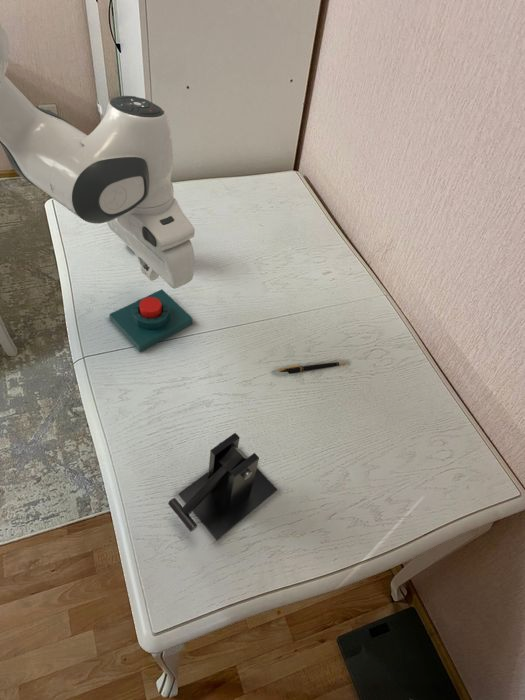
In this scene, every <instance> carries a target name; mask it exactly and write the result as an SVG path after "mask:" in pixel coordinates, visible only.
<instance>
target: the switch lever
mask: <svg viewBox="0 0 525 700" xmlns="http://www.w3.org/2000/svg"><path fill="white" fill-rule="evenodd" d="M239 449H240V448H239V447H238V448H236V447H232V448H231V449H230V450H229V451H228V452H227V453H226V454H225V455H224V456H223V457H222V458H221V459H220V461H219V462H220V463H221V464H222V466H221V467H220V469H219V470H218V471H217V472H216V473H215V474H214V475H213V476H212V477H211V478H210V479H209V480H208V481H207V482H206V483H205V484H204V485H203V487H202V488H201V489H200V490H199V491H198V492H197V493H196V494H195V495H194V496H193V497H192V498H191V499H190V500H189V501H188V502H187V503H185V505H184V506H183V505H182V504H181V503H180V502H179V501H178V500H177V498H176V497H173V498H171V499H170V500H169V501H168V503H167V504H168V506H169V507H170V508H171V510H172V511H173V512H174V513H175V514H176V516H177V517H178V518H179V519H180V521H181V522H182V523H183V525H184V526H185V527H186V528H187V529H188V531H189V532H190V533H192V532H194V531H195V530H196V529H197V528H198V524H197V523H196V522H195V521H194V519H193V518H192V517H191V514H192V513H193V510H194V509H195V508H196V507H197V506H198V505H199V504H200V503H201V502H202V501H203V500H204V499H205V497H206V496H207V495H208V494H209V493H210V492H211V491H212V490H213V489H214V488H215V487H216V486H217V485H218V484H219V483H220V482H221V481H222V479H223V478H224V477H225V476H226V475H227V474H228V473H230V471H231V470H233V469H234V468H235V467H236V466H238V465H239V464H240V463H242V462H243V461H244V460H246V459H247V458H248V457H247V455H246V454H243V453H244V452H243V451H242V450H241V449H240V450H241V451H242V452H243V453H242V452H241V451H240V450H239Z"/></svg>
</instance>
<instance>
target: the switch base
mask: <svg viewBox="0 0 525 700" xmlns="http://www.w3.org/2000/svg"><path fill="white" fill-rule="evenodd" d="M240 439H241V438H240V436H239V435H238V434H237V433H236V432H234V433H232V434H231V435H230V436H228V437H227V438H225V439H223V440H222V441H220V442H219V443H218V444H217V445H216V446H214V447H213V448H211V449H210V452H209V463H208V471H207V472H205V473H204V474H203V475H202V476H200V477H199V478H197V479H196V480H195V481H194V482H192V483H191V484H189V485H188V486H186V487H185V488H184V489H183V490H182V491H180V492H179V493H178V496H179V497H180V499H182V501H183V502H184V503H185V504H186V503H187V502H188V501H189V500H190V499H191V498H192V497H193V496H194V495H195V494H196V493H197V492H198V491H199V490H200V489H201V488H202V487H203V485H204V484H205V483H206V482H207V481H208V480H209V479H210V478H211V477H212V476H213V475H214V474H215V473H216V472H217V471H218V470H219V469H220V467H221V466H222V464H221V463H220V462H219V461H220V459H221V458H222V457H223V456H224V455H225V454H226V453H227V452H228V451H229V450H230V449H231V448H232V447H236V448H238V449H239V450H240V451H241V452H242V453H243V454H244V452H243V451H242V450H241V449H240V448H239V444H240ZM244 455H245V454H244ZM259 462H260V457H259V456H258V455H257V454H256V453H255V452H253V453H252V454H250V455H249V456H248V457H247V459H246V460H244V461H243V462H242V463H240V464H239V465H238V466H236V467H235V468H234V469H233V470H231V471H230V473H228V474H227V475H226V476H225V477H224V478H223V479H222V481H221V482H220V483H219V484H218V485H217V486H216V487H215V488H214V489H213V490H212V491H211V492H210V493H209V494H208V495H207V496H206V497H205V499H204V500H203V501H202V502H201V503H200V504H199V505H198V506H197V507H196V508H195V509H194V510H193V511H192V513H193V514H194V516H196V518H197V519H198V520H199V521H200V523H202V525H203V526H204V527H205V528H206V530H207V531H208V532H209V533H210V535H211V536H212V537H213V538H214V539H215V540H216V541H219V539H221V538H222V537H223V536H224V535H226V534H227V533H228V532H229V531H230V530H231V529H233V528H234V527H235V526H237V524H239V523H240V522H241V521H242V520H244V519H245V518H246V517H247V516H248V515H250V514H251V513H252V512H253V511H254V510H255V509H257V508H258V507H259V506H260V505H261V504H262V503H264V502H265V501H266V500H267V499H268V498H269V497H271V496H272V495H273V494H274V493H275V492H277V491H278V489H277V487H276V486H275V485H274V484H273V483H272V482H271V480H269V479H268V478H267V477H266V476H265V474H263V472H261V470H260V469H259V468H258V466H259Z"/></svg>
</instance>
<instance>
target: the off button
mask: <svg viewBox="0 0 525 700" xmlns="http://www.w3.org/2000/svg"><path fill="white" fill-rule="evenodd" d="M146 297H147V296H146ZM143 298H144V299H143V300H141V302H140V304H139V306H140V313H141V315H142V316H143V317H145V318H149V319H152V318H156V317H158V316H159V315H160V314H161V312H162V306H161V302H160V300H158V299H157V298H154V297H147V298H145V297H143Z"/></svg>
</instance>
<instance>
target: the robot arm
mask: <svg viewBox="0 0 525 700" xmlns="http://www.w3.org/2000/svg"><path fill="white" fill-rule="evenodd" d="M9 41H10V40H9V36H8V34H7V31H6V30H5V28H4V26H3V25H2V23H1V22H0V146H1V147H2V149H3V151H4V153H5V155H6V158H7V159H8V161H9V164H10V166H11V167H12V168H13V170H14V171H15V173H16V174H17V175H18V176H19V177H21V178H22V179H23V180H24V181H26V182H28V183H29V184H31V185H33V186H34V187H36V188H38V189H40V190H41V191H42V192H44V193H45V194H46V195H48V196H49V197H50V198H52V199H53V200H54V201H56V202H57V203H58V204H60V205H61V206H63V207H65V209H67V210H68V211H70V212H71V213H72V214H74V215H75V216H77V217H78V218H80V219H81V220H83V221H84V222H86V223H90V224H93V225H95V224H99V225H100V224H105V223H106V224H107V226H108V228H109V230H110V231H111V232H112V233H113V234H114V235H115V236H117V237H118V238H119V239H120V241H122V242H123V243H124V244H125V245H126V246H127V247H128V248H129V249H130V250H131V251H133V253H134V255H135V257H136V259H137V262H138V264H139V266H140V272H141V273H142V274H143V275H144V276H146V278H147V279H148V280H149V281H150V282H152V281H155V280H157V279H158V278H159V277H160V278H161V279H162V280H163V281H164V282H165V283H167V284H168V285H169V287H171V288H172V289H175V290H176V289H178V288H180V287H183V286H185V285H187V284H188V283H190V282H191V281H192V280H193V279H194V272H195V252H194V251H195V250H194V247H193V244H192V241H191V239H193V238H194V237H195V227H194V225H193V224H192V222H191V221H190V219H188V217H187V215H185V213H184V212H183V210H182V209H181V206H180V204H179V203H178V200H177V199H176V197H175V193H174V185H173V182H172V178H171V175H172V172H173V168H174V152H173V151H174V150H173V137H172V131H171V125H170V121H169V119H168V116H167V113H166V111H165V110H164V109H162V108H161V107H160V106H159V105H157V104H156V103H154V102H153V101H151V100H148V99H146V98H143V97H138V96H135V95H118V96H115V97H112V98H111V99H109V101H108V103H107V106H106V107H107V108H106V111H105V114H104V116H103V117H102V119H101V120H100V122H99V123H98V124H97V126H96V127H95V128H94V129H93V130H92V131H91V132H90V133H89V134H88V135H87V134H86V133H85V132H84V131H81V130H80V129H78V128H77V127H75V126H74V125H73V124H71V123H70V122H69V121H68V120H66V119H65V118H64V117H62V116H61V115H60V114H58V113H55V112H53V111H51V110H48V109H44V108H41V107H38V106H36V105H34V104H33V103H32V102H31V101H30V100H29V99H28V98H27V97H26V96H25V95H24V94H23V93H22V92H21V90H19V88H18V87H17V86H16V85H15V84H14V83H13V82H12V81H11V80H10V79H9V78H8V77H7V76H6V73H7V71H8V67H9V62H10V53H11V51H10V42H9Z"/></svg>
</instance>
